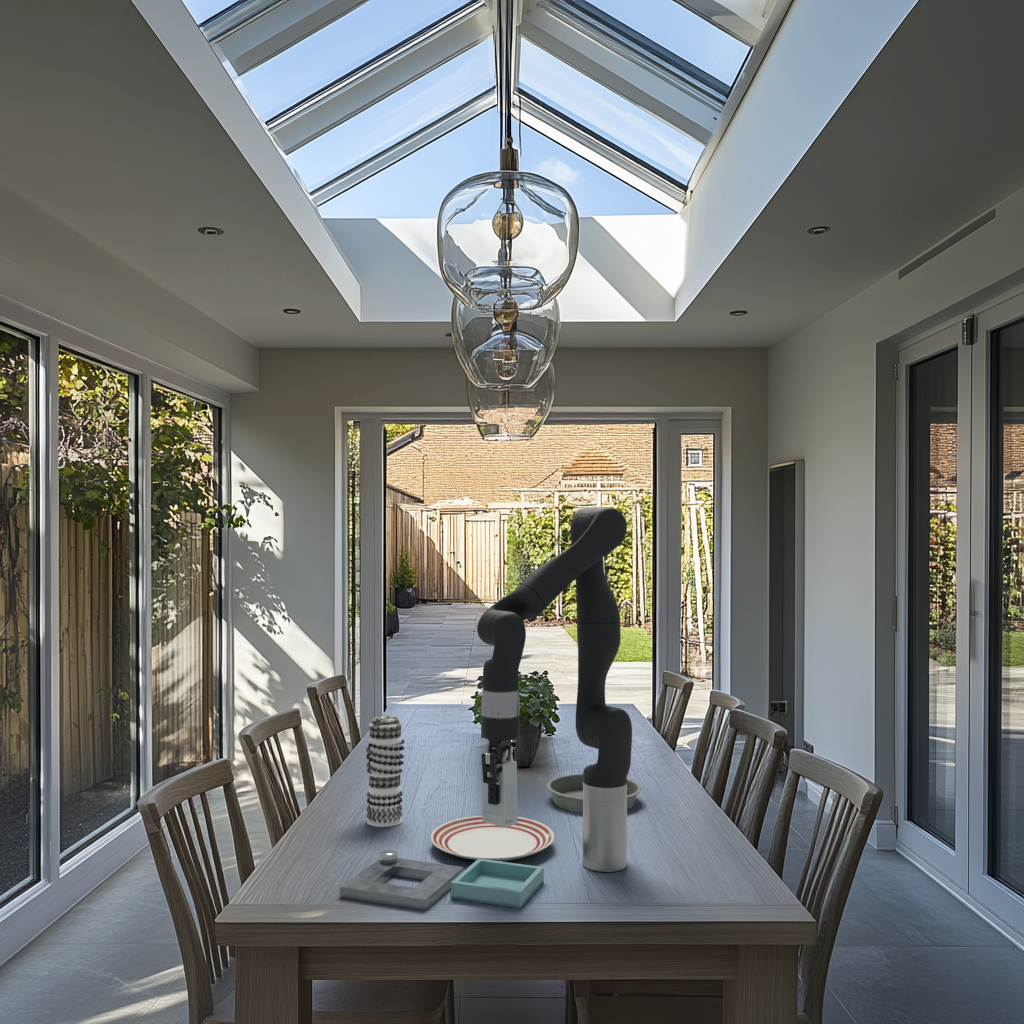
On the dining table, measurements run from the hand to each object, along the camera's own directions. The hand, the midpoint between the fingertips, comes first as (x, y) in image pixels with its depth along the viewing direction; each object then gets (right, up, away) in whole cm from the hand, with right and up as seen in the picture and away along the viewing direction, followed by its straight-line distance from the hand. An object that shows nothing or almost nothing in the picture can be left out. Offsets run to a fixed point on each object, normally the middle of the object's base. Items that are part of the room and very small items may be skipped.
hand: (499, 799), depth 178 cm
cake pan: (+24, -20, +61) cm, 68 cm away
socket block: (-19, -17, +1) cm, 26 cm away
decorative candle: (-28, -19, +42) cm, 54 cm away
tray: (0, -17, -1) cm, 17 cm away
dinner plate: (-2, -19, +24) cm, 31 cm away
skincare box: (0, -5, 0) cm, 5 cm away
